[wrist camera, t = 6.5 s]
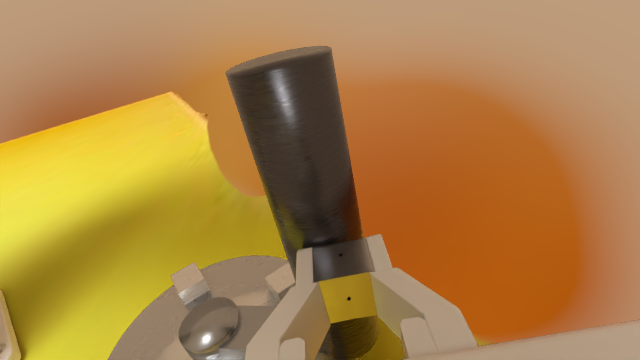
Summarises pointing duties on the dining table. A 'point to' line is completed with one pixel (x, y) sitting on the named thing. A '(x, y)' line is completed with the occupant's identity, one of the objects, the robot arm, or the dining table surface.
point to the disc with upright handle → (289, 214)
